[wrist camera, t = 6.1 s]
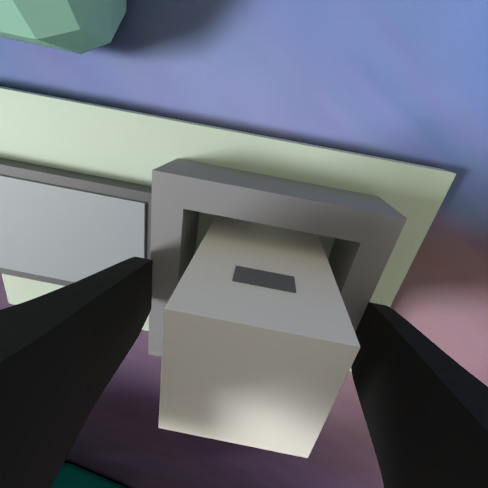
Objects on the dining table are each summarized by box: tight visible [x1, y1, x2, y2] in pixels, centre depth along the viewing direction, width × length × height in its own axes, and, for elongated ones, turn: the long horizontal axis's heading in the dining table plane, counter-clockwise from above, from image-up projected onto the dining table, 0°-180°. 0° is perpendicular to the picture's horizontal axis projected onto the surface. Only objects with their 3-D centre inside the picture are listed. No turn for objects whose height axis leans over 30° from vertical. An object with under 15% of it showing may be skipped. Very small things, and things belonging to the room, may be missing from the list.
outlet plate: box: [0, 86, 456, 371], centre depth 11 cm, size 10×18×3 cm, turn 81°
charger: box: [158, 215, 360, 458], centre depth 9 cm, size 4×4×6 cm
